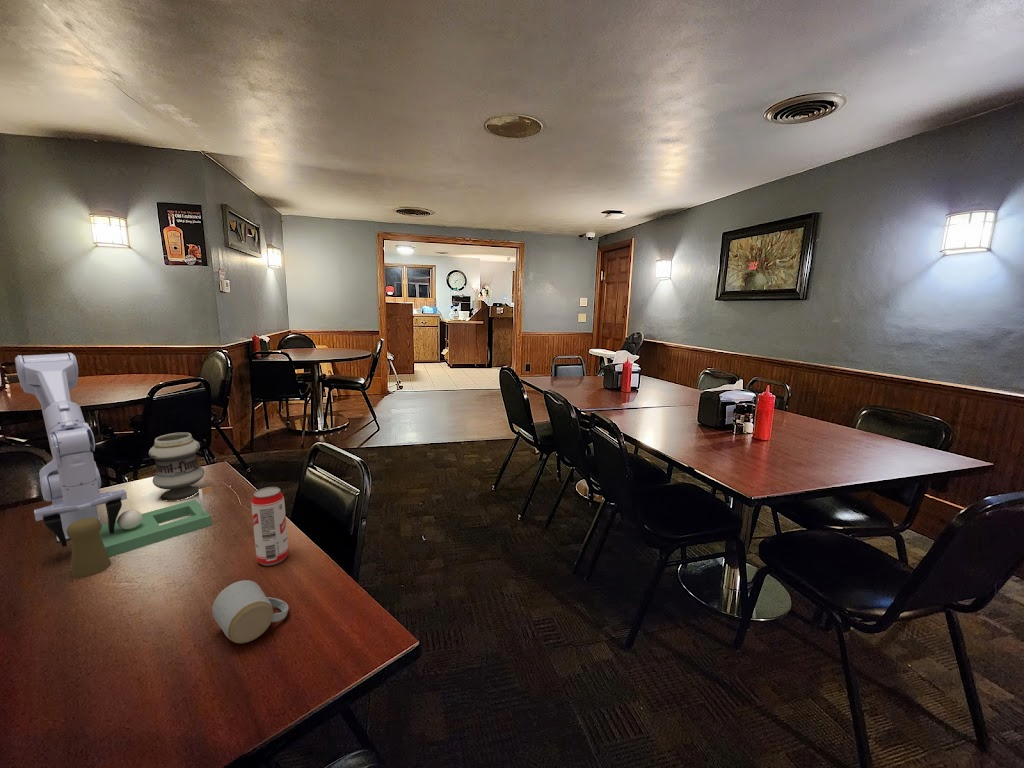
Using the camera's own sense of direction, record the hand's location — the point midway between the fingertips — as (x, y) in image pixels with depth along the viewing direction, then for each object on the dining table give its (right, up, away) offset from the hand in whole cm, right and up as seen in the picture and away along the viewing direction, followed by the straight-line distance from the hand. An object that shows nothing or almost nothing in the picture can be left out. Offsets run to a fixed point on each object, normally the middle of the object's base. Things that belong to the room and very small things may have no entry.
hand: (88, 538), depth 97 cm
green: (+7, -2, +9) cm, 12 cm away
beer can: (+43, -4, -2) cm, 43 cm away
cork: (+7, -4, -6) cm, 10 cm away
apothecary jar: (-2, +2, +30) cm, 30 cm away
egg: (+5, +3, +5) cm, 7 cm away
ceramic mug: (+51, -8, -21) cm, 55 cm away
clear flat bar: (+18, +2, +13) cm, 22 cm away
